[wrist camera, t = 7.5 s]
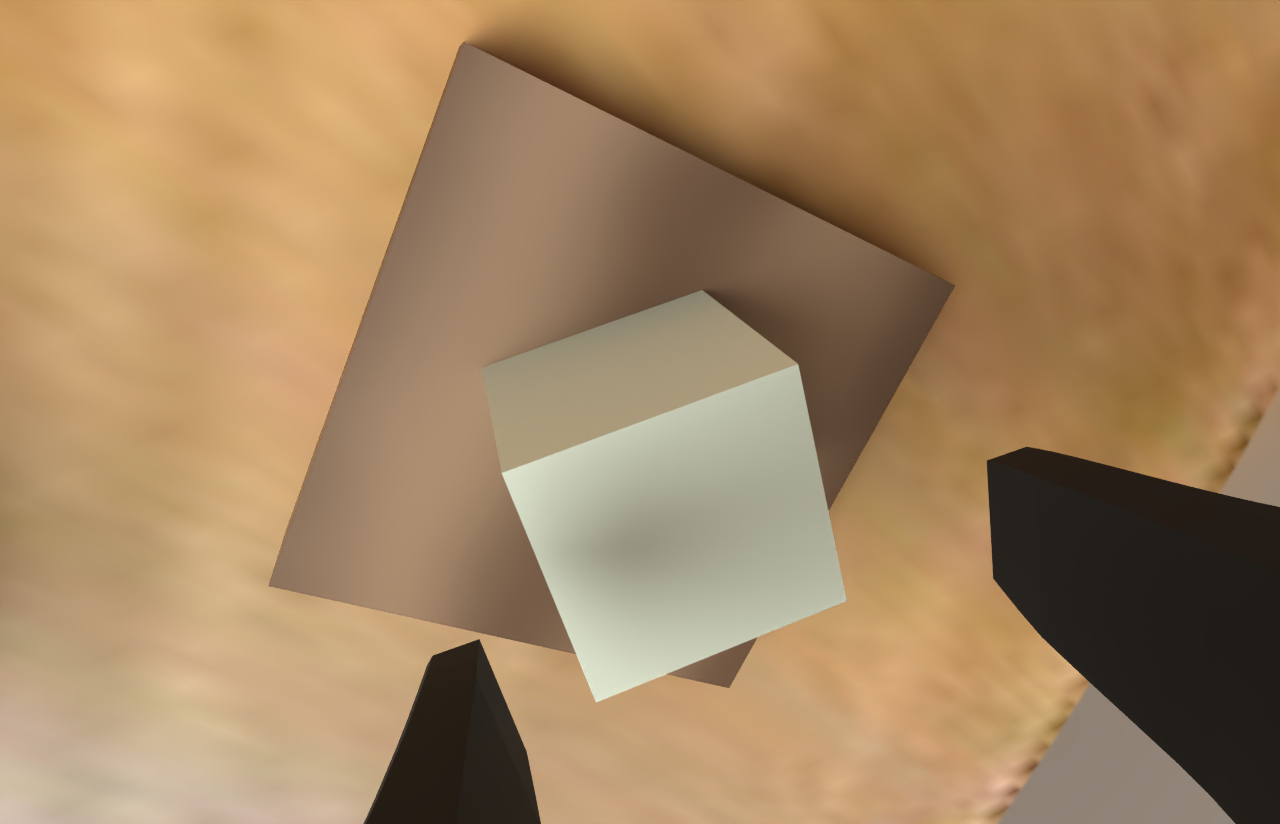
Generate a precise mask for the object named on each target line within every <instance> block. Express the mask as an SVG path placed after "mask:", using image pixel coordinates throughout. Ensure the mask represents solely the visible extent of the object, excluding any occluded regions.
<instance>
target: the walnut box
mask: <svg viewBox="0 0 1280 824" xmlns="http://www.w3.org/2000/svg"><path fill="white" fill-rule="evenodd" d="M954 287H955V285H953V284H951V283H949V282H947V281H945V280H943V279H941V278H939V277H937V276H935V275H933V274H931V273H929V272H927V271H925V270H923V269H920V268H918V267H916V266H914V265H912V264H910V263H908V262H906V261H904V260H902V259H900V258H898V257H896V256H894V255H892V254H890V253H888V252H886V251H884V250H882V249H880V248H878V247H876V246H874V245H872V244H870V243H868V242H866V241H864V240H862V239H860V238H858V237H856V236H854V235H852V234H850V233H848V232H846V231H844V230H842V229H840V228H838V227H836V226H834V225H832V224H830V223H828V222H826V221H824V220H822V219H820V218H818V217H816V216H814V215H812V214H810V213H808V212H806V211H804V210H802V209H800V208H798V207H796V206H794V205H792V204H790V203H788V202H786V201H784V200H782V199H780V198H778V197H776V196H774V195H772V194H770V193H768V192H765V191H763V190H761V189H759V188H757V187H755V186H753V185H751V184H749V183H747V182H745V181H743V180H741V179H739V178H737V177H735V176H733V175H731V174H729V173H727V172H725V171H723V170H721V169H719V168H717V167H715V166H713V165H711V164H709V163H707V162H705V161H703V160H701V159H699V158H697V157H695V156H693V155H691V154H689V153H687V152H685V151H683V150H681V149H679V148H677V147H675V146H673V145H671V144H669V143H667V142H665V141H663V140H661V139H659V138H657V137H655V136H653V135H651V134H649V133H647V132H645V131H643V130H641V129H639V128H637V127H635V126H633V125H631V124H629V123H627V122H625V121H623V120H621V119H619V118H617V117H615V116H613V115H610V114H608V113H606V112H604V111H602V110H600V109H598V108H596V107H594V106H592V105H590V104H588V103H586V102H584V101H582V100H580V99H578V98H576V97H574V96H572V95H570V94H568V93H566V92H564V91H562V90H560V89H558V88H556V87H554V86H552V85H550V84H548V83H546V82H544V81H542V80H540V79H538V78H536V77H534V76H532V75H530V74H528V73H526V72H524V71H522V70H520V69H518V68H516V67H514V66H512V65H510V64H508V63H506V62H504V61H502V60H500V59H498V58H496V57H494V56H492V55H490V54H488V53H486V52H484V51H482V50H480V49H478V48H476V47H474V46H472V45H470V44H468V43H466V42H463V44H462V45H461V46H460V47H459V49H458V52H457V55H456V58H455V61H454V63H453V66H452V69H451V72H450V75H449V77H448V80H447V83H446V86H445V88H444V91H443V94H442V97H441V100H440V102H439V105H438V108H437V111H436V114H435V116H434V119H433V122H432V125H431V128H430V130H429V133H428V136H427V139H426V141H425V144H424V147H423V150H422V153H421V155H420V158H419V161H418V164H417V167H416V169H415V172H414V175H413V178H412V180H411V183H410V186H409V189H408V192H407V194H406V197H405V200H404V203H403V206H402V208H401V211H400V214H399V217H398V220H397V222H396V225H395V228H394V231H393V233H392V236H391V239H390V242H389V245H388V247H387V250H386V253H385V256H384V259H383V261H382V264H381V267H380V270H379V273H378V275H377V278H376V281H375V284H374V286H373V289H372V292H371V295H370V298H369V300H368V303H367V306H366V309H365V312H364V314H363V317H362V320H361V323H360V326H359V328H358V331H357V334H356V337H355V339H354V342H353V345H352V348H351V351H350V353H349V356H348V359H347V362H346V365H345V367H344V370H343V373H342V376H341V378H340V381H339V384H338V387H337V390H336V392H335V395H334V398H333V401H332V404H331V406H330V409H329V412H328V415H327V418H326V420H325V423H324V426H323V429H322V431H321V434H320V437H319V440H318V443H317V445H316V448H315V451H314V454H313V457H312V459H311V462H310V465H309V468H308V471H307V473H306V476H305V479H304V482H303V484H302V487H301V490H300V493H299V496H298V498H297V501H296V504H295V507H294V510H293V512H292V515H291V518H290V521H289V524H288V526H287V529H286V532H285V535H284V539H283V542H282V545H281V548H280V551H279V554H278V558H277V561H276V564H275V567H274V570H273V573H272V577H271V580H270V583H269V586H271V587H275V588H280V589H284V590H289V591H293V592H298V593H302V594H307V595H311V596H316V597H321V598H325V599H330V600H334V601H339V602H343V603H348V604H352V605H357V606H361V607H366V608H370V609H375V610H379V611H384V612H388V613H393V614H397V615H402V616H406V617H411V618H415V619H420V620H424V621H429V622H433V623H438V624H442V625H447V626H451V627H456V628H460V629H465V630H469V631H474V632H479V633H483V634H488V635H492V636H497V637H501V638H506V639H510V640H515V641H519V642H524V643H528V644H533V645H537V646H542V647H546V648H551V649H555V650H560V651H564V652H569V653H573V654H576V653H575V650H574V648H573V645H572V643H571V640H570V638H569V636H568V633H567V631H566V628H565V626H564V623H563V621H562V619H561V616H560V614H559V611H558V609H557V606H556V604H555V602H554V599H553V597H552V594H551V592H550V589H549V587H548V585H547V582H546V580H545V577H544V575H543V572H542V570H541V568H540V565H539V563H538V560H537V558H536V555H535V553H534V551H533V548H532V546H531V543H530V541H529V538H528V536H527V534H526V531H525V529H524V526H523V524H522V521H521V519H520V517H519V514H518V512H517V509H516V507H515V504H514V502H513V500H512V497H511V495H510V492H509V490H508V487H507V485H506V483H505V480H504V478H503V475H502V472H501V467H500V462H499V457H498V451H497V446H496V441H495V436H494V430H493V425H492V420H491V415H490V409H489V404H488V399H487V393H486V388H485V383H484V378H483V372H482V367H485V366H488V365H491V364H494V363H496V362H499V361H502V360H505V359H508V358H511V357H513V356H516V355H519V354H522V353H525V352H528V351H530V350H533V349H536V348H539V347H542V346H545V345H547V344H550V343H553V342H556V341H559V340H562V339H565V338H567V337H570V336H573V335H576V334H579V333H582V332H584V331H587V330H590V329H593V328H596V327H599V326H601V325H604V324H607V323H610V322H613V321H616V320H618V319H621V318H624V317H627V316H630V315H633V314H635V313H638V312H641V311H644V310H647V309H650V308H653V307H655V306H658V305H661V304H664V303H667V302H670V301H672V300H675V299H678V298H681V297H684V296H687V295H690V294H692V293H695V292H698V291H701V290H703V291H704V292H705V293H707V294H708V295H709V296H711V297H712V298H713V299H715V300H716V301H717V302H718V303H720V304H721V305H722V306H724V307H725V308H726V309H728V310H729V311H730V312H731V313H733V314H734V315H735V316H737V317H738V318H739V319H740V320H742V321H743V322H744V323H746V324H747V325H748V326H750V327H751V328H752V329H753V330H755V331H756V332H757V333H759V334H760V335H761V336H763V337H764V338H765V339H766V340H768V341H769V342H770V343H772V344H773V345H774V346H776V347H777V348H778V349H779V350H781V351H782V352H783V353H785V354H786V355H787V356H788V357H790V358H791V359H792V360H794V361H795V362H796V363H798V366H799V370H800V375H801V380H802V385H803V390H804V395H805V400H806V405H807V409H808V414H809V419H810V424H811V429H812V434H813V439H814V443H815V448H816V453H817V458H818V463H819V468H820V473H821V478H822V482H823V487H824V492H825V497H826V502H827V507H828V511H829V509H830V507H831V506H832V504H833V502H834V500H835V499H836V497H837V495H838V493H839V491H840V490H841V488H842V486H843V484H844V483H845V481H846V479H847V477H848V475H849V474H850V472H851V470H852V468H853V466H854V465H855V463H856V461H857V459H858V458H859V456H860V454H861V452H862V450H863V449H864V447H865V445H866V443H867V442H868V440H869V438H870V436H871V434H872V433H873V431H874V429H875V427H876V426H877V424H878V422H879V420H880V418H881V417H882V415H883V413H884V411H885V410H886V408H887V406H888V404H889V402H890V401H891V399H892V397H893V395H894V393H895V392H896V390H897V388H898V386H899V385H900V383H901V381H902V379H903V377H904V376H905V374H906V372H907V370H908V369H909V367H910V365H911V363H912V361H913V360H914V358H915V356H916V354H917V353H918V351H919V349H920V347H921V345H922V344H923V342H924V340H925V338H926V337H927V335H928V333H929V331H930V329H931V328H932V326H933V324H934V322H935V320H936V319H937V317H938V315H939V313H940V312H941V310H942V308H943V306H944V304H945V303H946V301H947V299H948V297H949V296H950V294H951V292H952V290H953V288H954ZM756 639H757V638H754V639H752V640H749V641H747V642H744V643H742V644H739V645H737V646H734V647H732V648H729V649H727V650H724V651H722V652H720V653H717V654H715V655H712V656H710V657H707V658H705V659H702V660H700V661H697V662H695V663H692V664H690V665H687V666H685V667H683V668H680V669H678V670H675V671H673V672H670V673H668V675H673V676H677V677H682V678H686V679H691V680H695V681H700V682H704V683H709V684H713V685H718V686H722V687H727V688H729V687H730V685H731V684H732V682H733V680H734V678H735V677H736V675H737V673H738V671H739V669H740V668H741V666H742V664H743V662H744V661H745V659H746V657H747V655H748V653H749V652H750V650H751V648H752V646H753V645H754V643H755V641H756Z"/></svg>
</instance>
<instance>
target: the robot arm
mask: <svg viewBox="0 0 1280 824" xmlns="http://www.w3.org/2000/svg"><path fill="white" fill-rule="evenodd" d="M987 472H988V490H989V508H990V526H991V544H992V562H993V579H994V580H995V581H996V582H997V584H998V585H999V586H1000V587H1001V589H1002V590H1003V591H1004V592H1005V594H1006V595H1007V596H1008V597H1009V599H1010V600H1011V601H1012V602H1013V604H1014V605H1015V606H1016V607H1017V609H1018V610H1019V611H1020V612H1021V613H1022V615H1023V616H1024V617H1025V618H1026V619H1027V620H1028V622H1029V623H1030V624H1031V625H1032V626H1033V627H1034V628H1035V630H1036V631H1037V632H1038V633H1039V634H1040V635H1041V637H1042V638H1044V639H1045V640H1046V641H1047V642H1048V643H1049V644H1050V645H1051V646H1052V647H1053V648H1054V649H1055V650H1056V651H1057V652H1058V653H1059V654H1060V655H1061V656H1062V657H1063V658H1064V659H1066V660H1067V661H1068V662H1069V663H1070V664H1071V665H1072V666H1073V667H1074V668H1075V669H1076V670H1077V671H1078V672H1079V673H1080V674H1082V675H1083V676H1084V677H1085V678H1086V679H1087V680H1088V681H1089V682H1090V683H1091V684H1092V685H1093V686H1094V687H1096V688H1097V689H1098V690H1099V691H1100V692H1101V693H1102V694H1103V695H1104V696H1105V697H1106V698H1108V699H1109V700H1110V701H1111V702H1112V703H1113V704H1114V705H1115V706H1116V707H1117V708H1118V709H1119V710H1120V711H1122V712H1123V713H1124V714H1125V715H1126V716H1127V717H1128V718H1129V719H1130V720H1131V721H1133V723H1135V724H1136V725H1137V726H1138V727H1139V728H1140V729H1141V730H1142V731H1143V732H1144V733H1146V734H1147V735H1148V736H1149V737H1150V738H1151V739H1152V740H1153V741H1154V742H1155V743H1156V744H1157V745H1158V746H1160V747H1161V748H1162V749H1163V750H1164V751H1165V752H1166V753H1167V754H1168V755H1169V756H1170V757H1171V758H1173V759H1174V760H1175V761H1176V762H1177V763H1178V764H1179V765H1180V766H1181V767H1182V768H1183V769H1184V770H1185V771H1186V772H1187V773H1188V774H1189V775H1190V776H1191V777H1192V778H1193V779H1194V780H1195V781H1196V782H1197V783H1198V784H1199V785H1200V786H1201V787H1202V788H1203V789H1204V790H1205V791H1206V792H1207V793H1208V794H1209V795H1210V796H1211V797H1212V798H1213V799H1214V800H1215V801H1216V802H1217V803H1218V805H1219V806H1220V807H1221V808H1222V809H1223V810H1224V811H1225V812H1226V814H1227V815H1228V816H1229V817H1230V818H1231V819H1232V820H1233V821H1234V822H1235V823H1236V824H1280V507H1276V506H1272V505H1267V504H1262V503H1257V502H1253V501H1248V500H1244V499H1240V498H1235V497H1231V496H1226V495H1223V494H1218V493H1214V492H1210V491H1206V490H1202V489H1198V488H1194V487H1190V486H1186V485H1182V484H1178V483H1174V482H1170V481H1166V480H1162V479H1158V478H1154V477H1150V476H1147V475H1143V474H1139V473H1135V472H1131V471H1127V470H1123V469H1120V468H1116V467H1112V466H1108V465H1104V464H1100V463H1096V462H1093V461H1089V460H1085V459H1081V458H1077V457H1072V456H1068V455H1064V454H1060V453H1056V452H1051V451H1046V450H1041V449H1036V448H1030V447H1025V448H1022V449H1019V450H1016V451H1013V452H1010V453H1007V454H1005V455H1002V456H999V457H996V458H993V459H990V460H988V461H987ZM364 824H541V822H540V817H539V811H538V806H537V801H536V796H535V791H534V786H533V781H532V776H531V771H530V766H529V761H528V756H527V752H526V749H525V747H524V745H523V742H522V740H521V737H520V735H519V733H518V730H517V728H516V725H515V723H514V721H513V718H512V716H511V714H510V711H509V709H508V706H507V704H506V702H505V699H504V697H503V695H502V692H501V690H500V687H499V685H498V683H497V680H496V678H495V675H494V673H493V671H492V668H491V666H490V664H489V661H488V659H487V656H486V654H485V652H484V649H483V647H482V644H481V642H480V640H476V641H473V642H470V643H467V644H465V645H462V646H459V647H456V648H453V649H450V650H448V651H445V652H442V653H439V654H436V655H433V656H432V658H431V660H430V661H429V663H428V665H427V667H426V670H425V673H424V676H423V679H422V681H421V684H420V687H419V690H418V693H417V695H416V698H415V701H414V704H413V706H412V709H411V712H410V714H409V717H408V720H407V722H406V725H405V727H404V730H403V732H402V735H401V738H400V740H399V743H398V745H397V748H396V750H395V753H394V755H393V757H392V760H391V762H390V764H389V767H388V769H387V772H386V774H385V776H384V779H383V781H382V783H381V786H380V788H379V790H378V793H377V795H376V798H375V800H374V802H373V804H372V807H371V809H370V811H369V813H368V816H367V818H366V820H365V822H364Z"/></svg>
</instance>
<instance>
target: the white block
mask: <svg viewBox="0 0 1280 824" xmlns="http://www.w3.org/2000/svg"><path fill="white" fill-rule="evenodd" d="M482 372H483V378H484V383H485V388H486V393H487V399H488V404H489V409H490V415H491V420H492V425H493V430H494V436H495V441H496V446H497V451H498V457H499V462H500V467H501V472H502V475H503V478H504V480H505V483H506V485H507V487H508V490H509V492H510V495H511V497H512V500H513V502H514V504H515V507H516V509H517V512H518V514H519V517H520V519H521V521H522V524H523V526H524V529H525V531H526V534H527V536H528V538H529V541H530V543H531V546H532V548H533V551H534V553H535V555H536V558H537V560H538V563H539V565H540V568H541V570H542V572H543V575H544V577H545V580H546V582H547V585H548V587H549V589H550V592H551V594H552V597H553V599H554V602H555V604H556V606H557V609H558V611H559V614H560V616H561V619H562V621H563V623H564V626H565V628H566V631H567V633H568V636H569V638H570V640H571V643H572V645H573V648H574V650H575V653H576V655H577V657H578V660H579V662H580V665H581V667H582V670H583V672H584V674H585V677H586V679H587V682H588V684H589V687H590V689H591V691H592V694H593V696H594V699H595V701H596V702H599V701H601V700H603V699H606V698H608V697H611V696H613V695H616V694H618V693H621V692H623V691H626V690H628V689H631V688H633V687H636V686H638V685H641V684H643V683H645V682H648V681H650V680H653V679H655V678H658V677H660V676H663V675H665V674H668V673H670V672H673V671H675V670H678V669H680V668H683V667H685V666H687V665H690V664H692V663H695V662H697V661H700V660H702V659H705V658H707V657H710V656H712V655H715V654H717V653H720V652H722V651H724V650H727V649H729V648H732V647H734V646H737V645H739V644H742V643H744V642H747V641H749V640H752V639H754V638H757V637H759V636H762V635H764V634H766V633H769V632H771V631H774V630H776V629H779V628H781V627H784V626H786V625H789V624H791V623H794V622H796V621H799V620H801V619H804V618H806V617H808V616H811V615H813V614H816V613H818V612H821V611H823V610H826V609H828V608H831V607H833V606H836V605H838V604H841V603H843V602H845V601H847V599H846V595H845V590H844V585H843V580H842V575H841V570H840V565H839V560H838V556H837V551H836V546H835V541H834V536H833V531H832V526H831V521H830V517H829V512H828V507H827V502H826V497H825V492H824V487H823V482H822V478H821V473H820V468H819V463H818V458H817V453H816V448H815V443H814V439H813V434H812V429H811V424H810V419H809V414H808V409H807V405H806V400H805V395H804V390H803V385H802V380H801V375H800V370H799V366H798V363H796V362H795V361H794V360H792V359H791V358H790V357H788V356H787V355H786V354H785V353H783V352H782V351H781V350H779V349H778V348H777V347H776V346H774V345H773V344H772V343H770V342H769V341H768V340H766V339H765V338H764V337H763V336H761V335H760V334H759V333H757V332H756V331H755V330H753V329H752V328H751V327H750V326H748V325H747V324H746V323H744V322H743V321H742V320H740V319H739V318H738V317H737V316H735V315H734V314H733V313H731V312H730V311H729V310H728V309H726V308H725V307H724V306H722V305H721V304H720V303H718V302H717V301H716V300H715V299H713V298H712V297H711V296H709V295H708V294H707V293H705V292H704V291H703V290H701V291H698V292H695V293H692V294H690V295H687V296H684V297H681V298H678V299H675V300H672V301H670V302H667V303H664V304H661V305H658V306H655V307H653V308H650V309H647V310H644V311H641V312H638V313H635V314H633V315H630V316H627V317H624V318H621V319H618V320H616V321H613V322H610V323H607V324H604V325H601V326H599V327H596V328H593V329H590V330H587V331H584V332H582V333H579V334H576V335H573V336H570V337H567V338H565V339H562V340H559V341H556V342H553V343H550V344H547V345H545V346H542V347H539V348H536V349H533V350H530V351H528V352H525V353H522V354H519V355H516V356H513V357H511V358H508V359H505V360H502V361H499V362H496V363H494V364H491V365H488V366H485V367H482Z"/></svg>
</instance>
